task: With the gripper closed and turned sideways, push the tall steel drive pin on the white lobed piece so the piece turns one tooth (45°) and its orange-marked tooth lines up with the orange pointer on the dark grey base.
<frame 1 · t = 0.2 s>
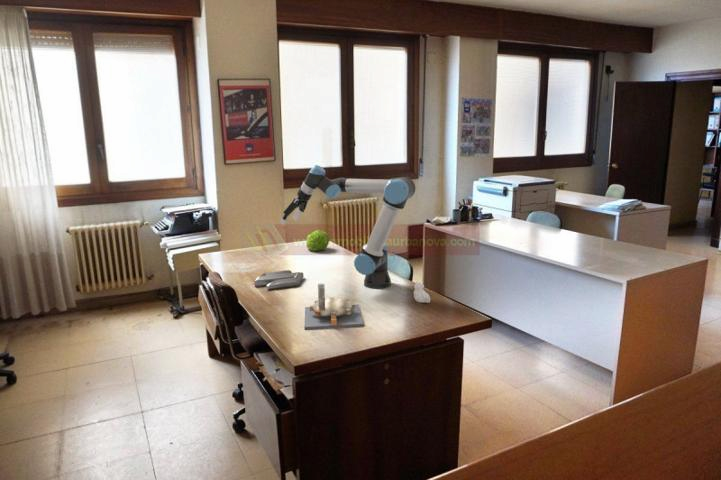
hand: (288, 221, 278), 36 cm above the table, fingers open, 13 cm apart
grey flat lobed piece: (280, 283, 286), on the table
lettuce: (316, 249, 363), on the table
duck figurine: (420, 301, 251), on the table
sprocket stand: (332, 316, 233), on the table
white lobed piece: (332, 295, 231), point 10 cm above the table, hinge at 0.0°
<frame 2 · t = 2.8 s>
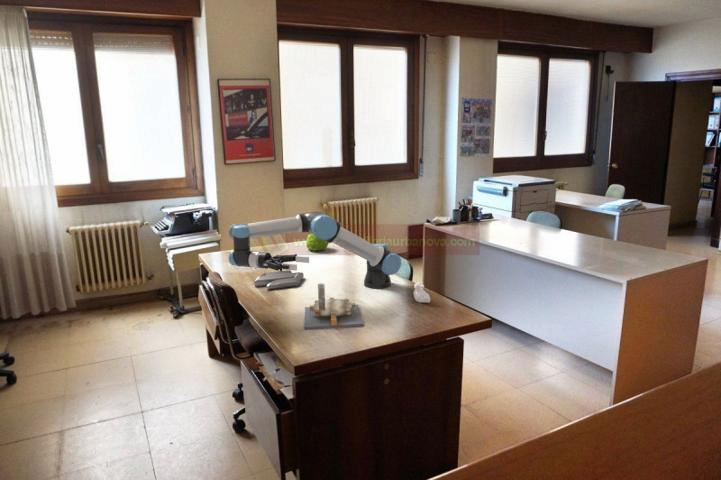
hand: (302, 263, 225), 27 cm above the table, fingers open, 13 cm apart
nothing on the table moved.
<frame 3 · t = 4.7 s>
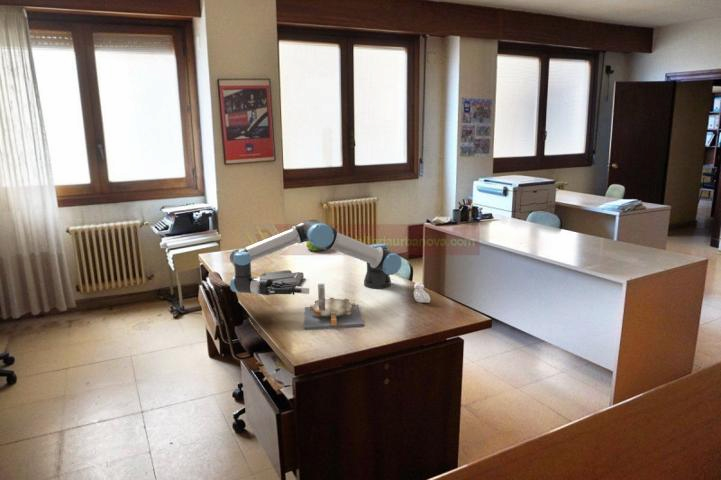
hand: (308, 290, 227), 14 cm above the table, fingers closed
nothing on the table moved.
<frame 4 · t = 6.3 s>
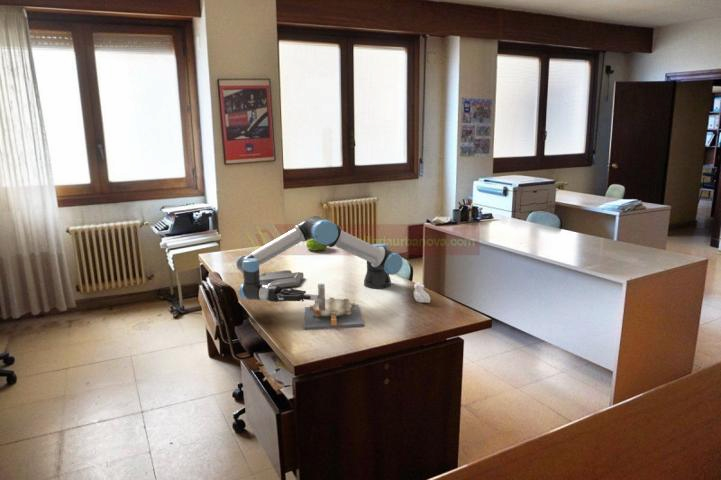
hand: (317, 297, 226), 11 cm above the table, fingers closed
white lobed piece: (332, 295, 231), point 10 cm above the table, hinge at 0.3°, touching gripper
everything else where it was.
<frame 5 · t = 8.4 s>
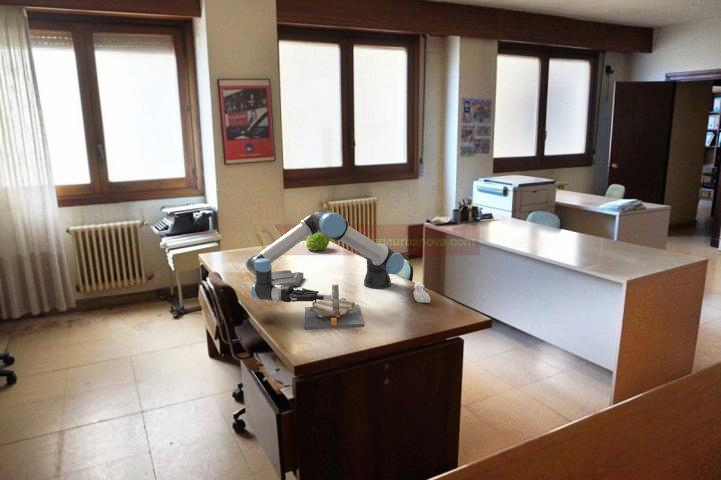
hand: (331, 297, 224), 12 cm above the table, fingers closed
white lobed piece: (332, 295, 231), point 10 cm above the table, hinge at 55.9°
everything else where it was.
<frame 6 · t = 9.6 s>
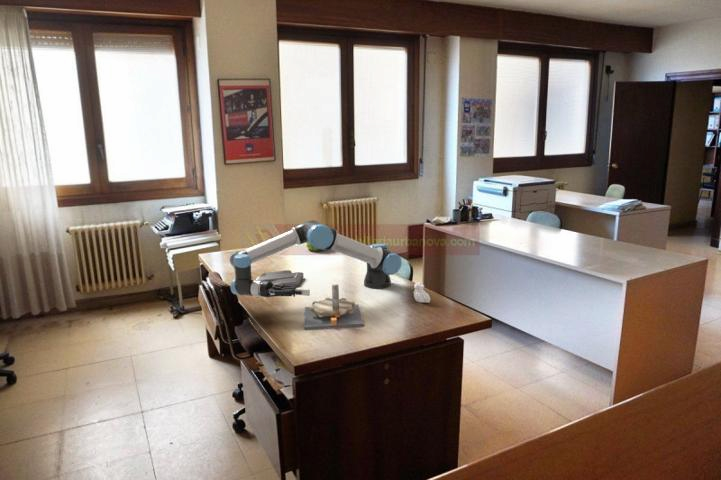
hand: (309, 292, 227), 13 cm above the table, fingers closed
nothing on the table moved.
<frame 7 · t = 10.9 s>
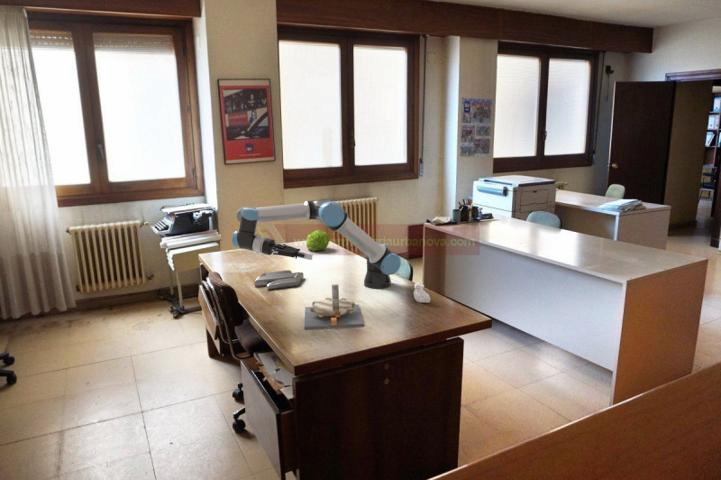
hand: (311, 256, 229), 28 cm above the table, fingers closed
nothing on the table moved.
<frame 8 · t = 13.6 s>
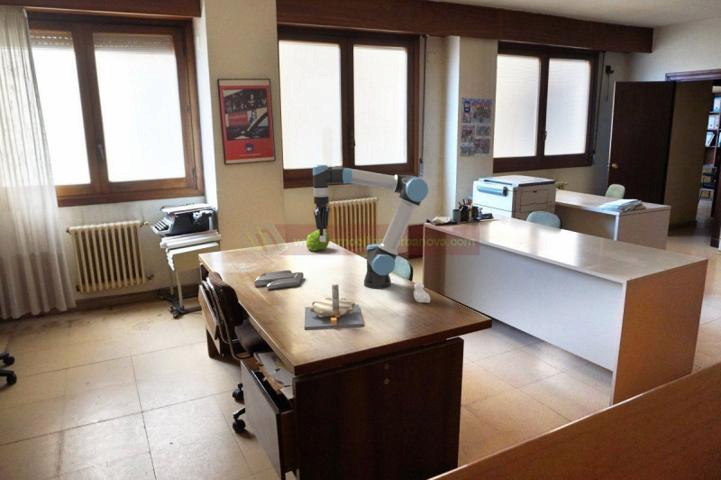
hand: (322, 241, 256), 29 cm above the table, fingers closed
nothing on the table moved.
at the end: white lobed piece at +56° (first picture: +0°) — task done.
